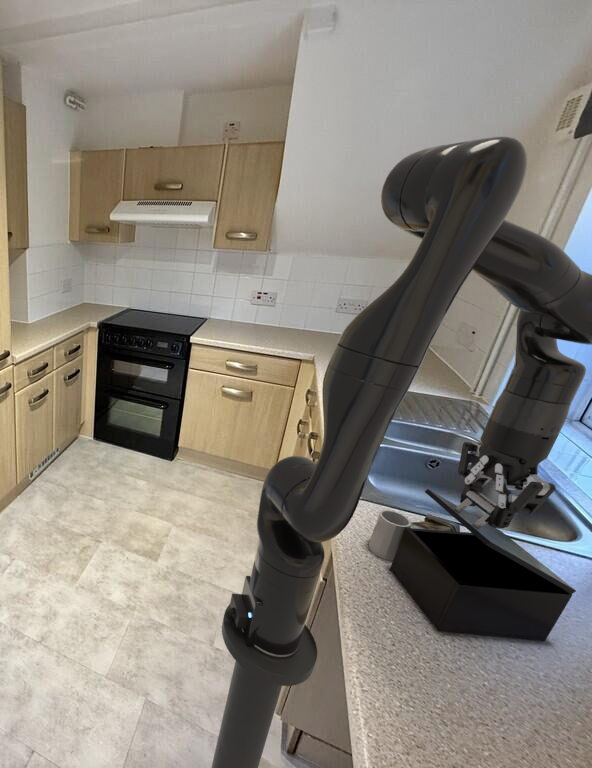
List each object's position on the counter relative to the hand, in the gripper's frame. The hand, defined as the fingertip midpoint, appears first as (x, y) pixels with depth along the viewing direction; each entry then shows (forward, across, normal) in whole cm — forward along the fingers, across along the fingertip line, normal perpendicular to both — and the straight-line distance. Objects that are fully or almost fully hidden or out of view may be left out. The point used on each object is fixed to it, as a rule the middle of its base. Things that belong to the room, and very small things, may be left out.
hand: (481, 515), depth 68 cm
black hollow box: (+19, 0, +4) cm, 19 cm away
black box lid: (+5, 0, +4) cm, 6 cm away
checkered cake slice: (+19, -18, +9) cm, 27 cm away
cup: (+19, -12, -3) cm, 23 cm away
